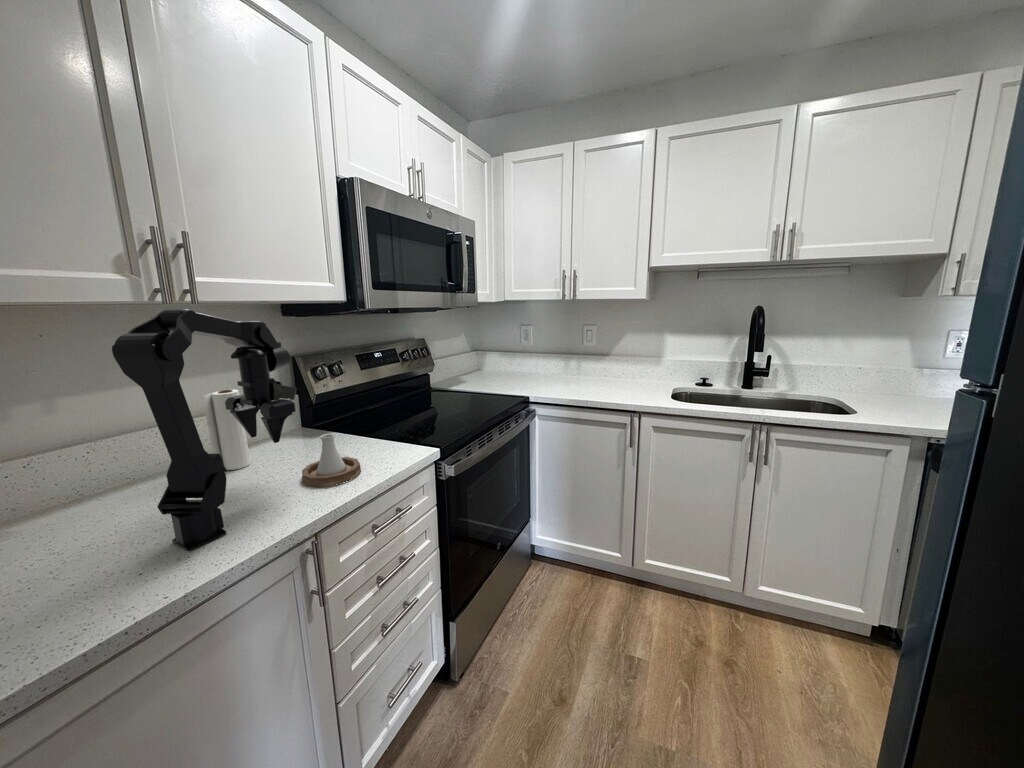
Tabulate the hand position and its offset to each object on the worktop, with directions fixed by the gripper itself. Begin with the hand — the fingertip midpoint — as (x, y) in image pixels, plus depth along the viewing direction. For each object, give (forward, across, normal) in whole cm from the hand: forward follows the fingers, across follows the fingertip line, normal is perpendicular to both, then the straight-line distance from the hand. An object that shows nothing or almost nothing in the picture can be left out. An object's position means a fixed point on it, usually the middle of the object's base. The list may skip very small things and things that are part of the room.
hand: (265, 439), depth 97 cm
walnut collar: (+12, -8, -11) cm, 18 cm away
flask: (+11, -8, -11) cm, 18 cm away
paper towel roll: (+12, +22, -3) cm, 25 cm away
